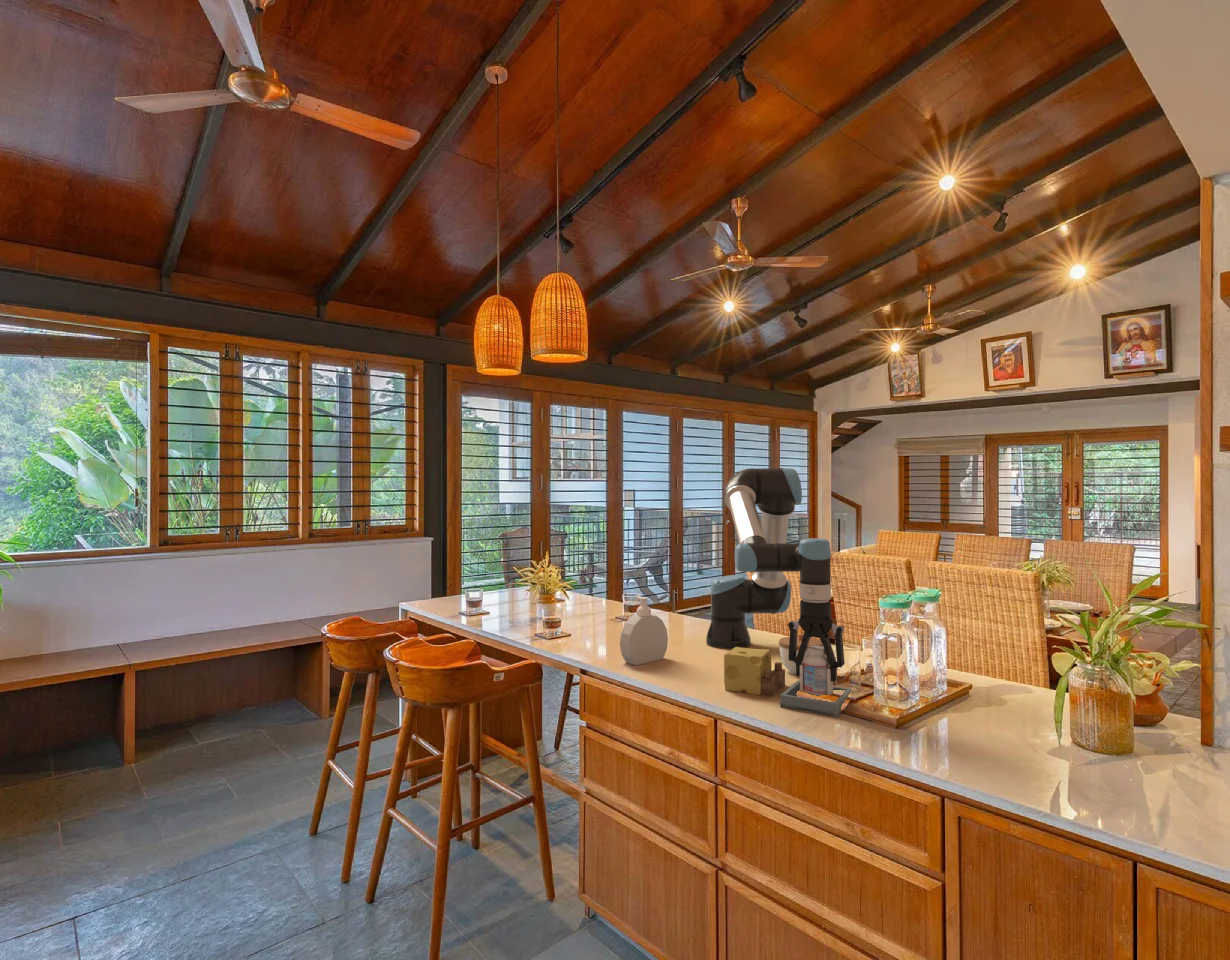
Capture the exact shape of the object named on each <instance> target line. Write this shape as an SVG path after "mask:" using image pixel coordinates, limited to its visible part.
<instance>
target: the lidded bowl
mask: <svg viewBox="0 0 1230 960" xmlns="http://www.w3.org/2000/svg"><path fill="white" fill-rule="evenodd" d="M803 634H804V633H803ZM803 634H801V633H798V635H797V648H796V656H797V655H798V651H799V648H800V645H801V642H802V638H803ZM789 640H790V636H784V637H781V638H779V640H778V645H779V647H778V648H779V657H780V660H781V663H782V666H784V668H786V669H787V670H788V672H789V674H792V675H796V663H795V662H793V661H790V660H789V659H788V657H789ZM809 646H820V647H823V644H822V642H821V640H820V638H817V637H811V638H810V640H809V643H808V646H807V647H809ZM806 656H808V654H807V649H806V652H805V656H804V658H805V657H806ZM803 660H804V659H803ZM802 663H804V661H803V662H802Z"/></svg>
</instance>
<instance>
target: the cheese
mask: <svg viewBox="0 0 1230 960" xmlns="http://www.w3.org/2000/svg"><path fill="white" fill-rule="evenodd" d="M771 654H772V653H771V650H770V649H763V648H762V649H761V648H759V649H758V648H748V647H744V648H741V647H735V648H733V649H731V650H730V651H728V652H726V653H725V654H724V656H723V682H724V690H725V691H730V692H738V693H739V692H740V693H743V692H745V693H747V694H749V695H755V696H761V679H762V678H763V677H764V669H771V670H772V655H771Z"/></svg>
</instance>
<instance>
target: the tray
mask: <svg viewBox="0 0 1230 960" xmlns="http://www.w3.org/2000/svg"><path fill="white" fill-rule="evenodd" d="M799 690H800V680H796V681H795V682H794V683H793V684H792V685H791V686H789V687H788V688H786V689H785V691H783V692H782V693H780V695H779V696H780V697H779V699H780V701H779V704H780V708H784V709H789V710H796V711H800V712H807V713H812V714H818V715H824V716H829V717H836V718H838V717H839V716H840V715H841V714H842V713H841V706H842V704H843V703H844V702H845V700H846V699H847V697H848V695H849V694H850V692H851V691H852V692H853V689H852V688H850V687H849V688H848V687H842V686H835V685H833V690H845V692H844V693H843V694H842V695H841V696H840V697H839V698H838V699H837V700H836V701H835V702H828V701H822V700H816V699H810V698H804V697H798V696H797V695H796V693H797V691H799Z"/></svg>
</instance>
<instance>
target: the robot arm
mask: <svg viewBox="0 0 1230 960" xmlns="http://www.w3.org/2000/svg"><path fill="white" fill-rule="evenodd" d="M802 490H803V489H802V483H801V479H800V475H799V472H797V470H796V469H794V468H787V467H780V468H779V467H777V468H775V467H772V468H771V467H770V468H745V469H742V470H740V471H738V472H736V473H735V474H734V475H733V476H731V478H730V479H728V480H727V483H726V484H725V487H724V491H723V500H724V504H725V506H726V507H727V509H729V510H730V513H731V517H732V521H733V522H732V523H733V525H734V530H735V533H736V538H737V540H738V544H736V545H735V546H734V547H735V548H734V565H735V568H736V570H737V571H739V572H744V573H745V572H746V573H747V572H748V573H752V576H751V579H746V578H745V576H744V575H743V574H731V575H724V576H723V575H722V576H719V577H717V578H714V579H713V580H712V581H711V585H710V604H711V605H710V615H711V617H710V618H711V619H710V625H709V628H708V630H707V634H706V640H705V641H706V645H708V646H710V647H714V648H718V649H728V650H729V649H731V650H732V649H733V648H735V647H741V648H748V647H750V646H751V636H750V633H749V630H748V627H747V623H746V614H772V615H777V614H783V613H785V612H787V611H788V609H789V607H790V604H791V600H792V586H791V583H790V581H789V579H787V575H785V573H784V572H786V573H787V572H789V573H790V572H794V573H795V572H798V573H799V597H800V599H801V600H800V601H799V615H800V616H799V618H798V620H791V621H789V623H787V625H788V629H789V637H790V640H789V657H788V659H789V660H790V661H793V662H795V663H796V674H795V675H796V677H798V678H799V681H800V691H804V663H802V662H803V661H804V660H803V659H804V656H805V652H806V649H807V646H808V643H809V640H810V638H816V639H819V640H821V642H822V644H823V647H824V650H825V653H826V655H825V657H826V658H827V659H828V663H829V668H827V695H831V694H832V693H833V686H834V682H836V681H837V679H838V668H842V667H843V666H844V665H845V651H844V639H843V634H844V631H845V627H844V626H843V625H837V624H835V623H834V622H833V620H832V602H831V601H830V600H831V599H832V587H831V585H832V583H831V577H832V576H831V574H832V572H831V556H832V552H831V543H830V541H829V540H828V539H826V538H820V537H819V538H815V537H812V538H811V537H810V538H802V539H800V540H799V541H798V542H794V543H792V542H791V543H787V536H788V529H789V517H790V516H791V514H793V513H794V512H795V509H796V506H798V505H801V504H802V501H803V492H802ZM756 506H757V507H756ZM757 508H758V509H757ZM758 510H759V511H760V512H761V518H760V517H759V516H760V515H759V513H758ZM800 627H801V629H802V631H803V638H802V642H801V645H800V648H799V651H798V655H797V656H796V648H797V636H798V629H799V628H800ZM831 629H832V631H833V634H834V643H835V653H836V654H835V653H834V650H833V647H832V644H831V641H830V636H829V632H830V631H831ZM835 655H836V657H835Z"/></svg>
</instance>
